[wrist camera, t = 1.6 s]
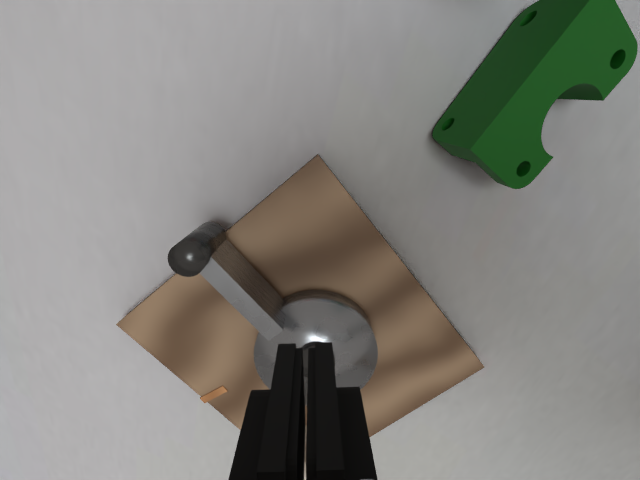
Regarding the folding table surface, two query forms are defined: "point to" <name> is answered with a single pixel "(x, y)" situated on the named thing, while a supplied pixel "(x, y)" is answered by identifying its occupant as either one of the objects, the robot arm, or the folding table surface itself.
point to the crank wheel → (280, 309)
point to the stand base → (300, 275)
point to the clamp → (535, 84)
